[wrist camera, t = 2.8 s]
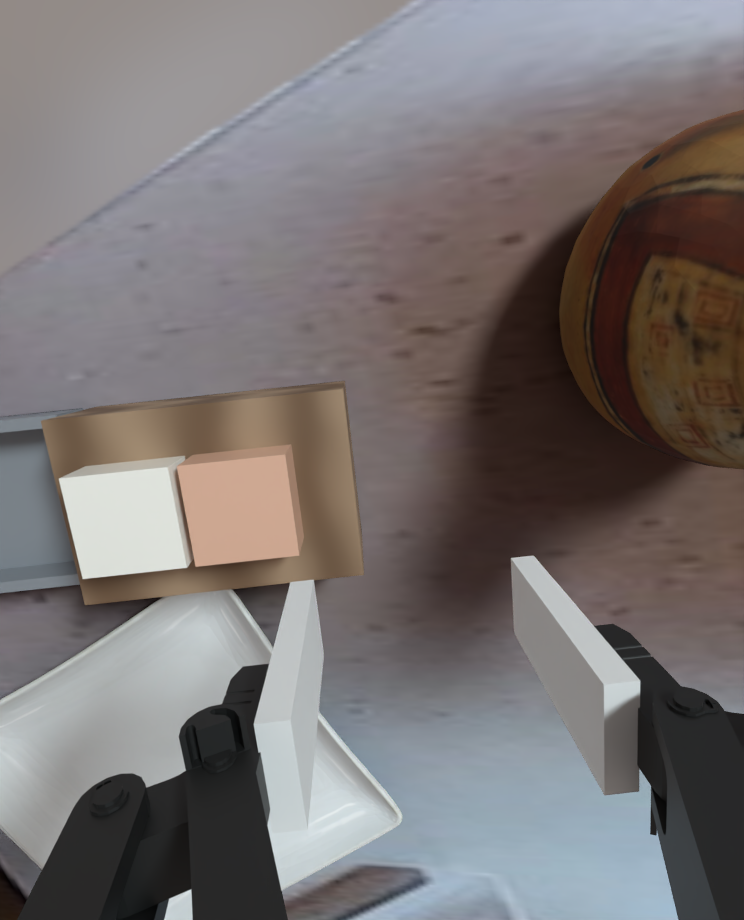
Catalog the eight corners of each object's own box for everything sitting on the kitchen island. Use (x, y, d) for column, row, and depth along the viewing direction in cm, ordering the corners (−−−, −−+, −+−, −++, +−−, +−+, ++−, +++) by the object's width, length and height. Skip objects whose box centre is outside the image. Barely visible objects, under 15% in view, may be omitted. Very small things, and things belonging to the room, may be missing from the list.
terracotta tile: (209, 547, 33) (195, 566, 30) (192, 454, 32) (176, 465, 29) (304, 537, 33) (299, 555, 31) (291, 444, 32) (285, 454, 29)
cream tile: (106, 558, 33) (82, 579, 30) (85, 466, 32) (58, 478, 29) (201, 548, 33) (186, 567, 30) (184, 455, 32) (167, 467, 29)
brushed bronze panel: (129, 561, 41) (85, 605, 34) (96, 406, 38) (40, 420, 31) (361, 536, 41) (363, 574, 34) (344, 380, 38) (343, 389, 32)
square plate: (-49, 716, 44) (-87, 751, 40) (225, 546, 41) (212, 567, 37) (153, 928, 49) (136, 977, 45) (404, 789, 47) (409, 828, 43)
